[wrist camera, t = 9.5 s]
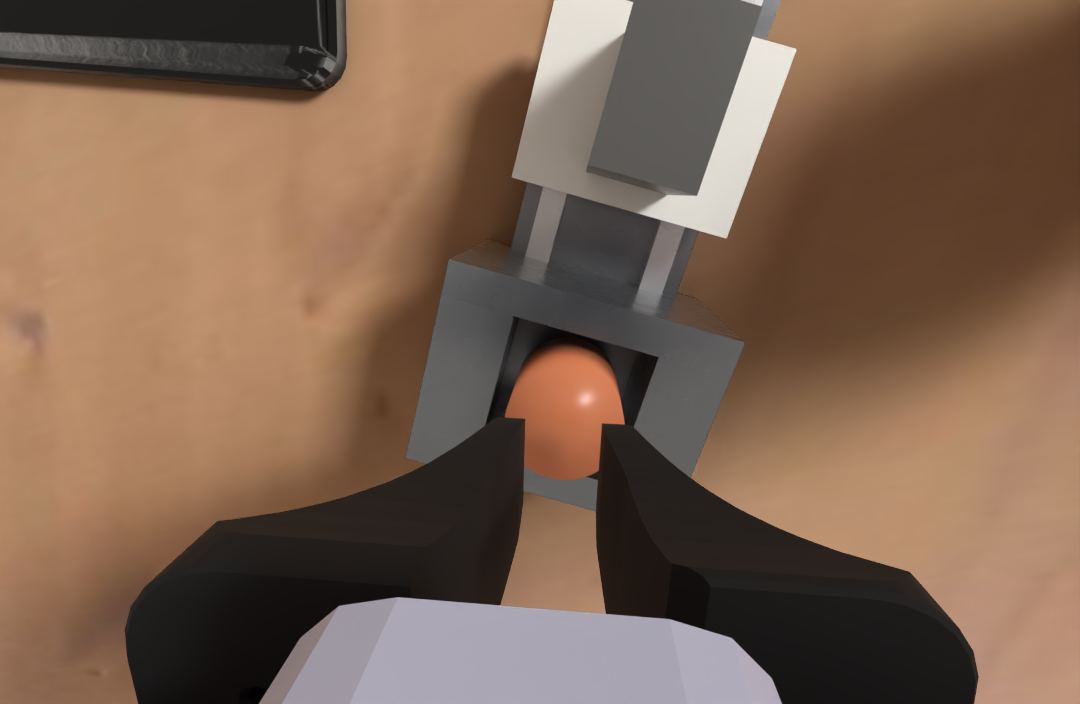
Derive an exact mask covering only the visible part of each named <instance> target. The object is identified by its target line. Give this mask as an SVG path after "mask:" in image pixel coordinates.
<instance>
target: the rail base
mask: <svg viewBox="0 0 1080 704" xmlns="http://www.w3.org/2000/svg"><path fill="white" fill-rule="evenodd" d="M627 1H631V2H634V0H627ZM742 1H745V2H749V3H752V4H756V5H759V6H763V7H762V10H761V13H760V16H759V18H758V21H757V24H756V27H755V30H754V33H753V37H756V38H760V39H763V40H767V37H768V34H769V31H770V28H771V25H772V23H773V20H774V17H775V14H776V11H777V8H778V6H779V3H780V0H742ZM698 232H699V231H698V230H694V229H691V228H687V227H684V226H680V225H677V224H673V223H670V222H666V221H663V220H659V219H656V218H652V217H649V216H645V215H642V214H638V213H634V212H631V211H627V210H624V209H620V208H617V207H613V206H610V205H606V204H603V203H599V202H596V201H592V200H589V199H585V198H582V197H578V196H575V195H571V194H568V193H564V192H561V191H557V190H554V189H550V188H547V187H543V186H539V185H536V184H532V183H529V182H527V185H526V189H525V193H524V197H523V201H522V205H521V209H520V213H519V217H518V221H517V225H516V229H515V233H514V237H513V241H512V245H511V246H509V245H505V244H502V243H498V242H495V241H491V240H488V239H487V240H485V241H484V242H482V243H480V244H478V245H476V246H474V247H472V248H470V249H468V250H466V251H464V252H462V253H460V254H458V255H456V256H454V257H452V258H450V259H449V261H448V266H447V270H446V275H445V280H444V284H443V289H442V293H441V298H440V303H439V307H438V312H437V316H436V321H435V326H434V330H433V335H432V339H431V344H430V349H429V353H428V358H427V362H426V367H425V372H424V376H423V381H422V385H421V390H420V395H419V399H418V404H417V408H416V413H415V418H414V422H413V427H412V431H411V436H410V441H409V445H408V450H407V454H406V458H407V459H410V460H414V461H417V462H421V463H425V464H428V463H429V462H431V461H433V460H434V459H436V458H438V457H439V456H441V455H442V454H444V453H446V452H447V451H449V450H451V449H452V448H454V447H456V446H457V445H459V444H460V443H461V442H463V441H464V440H466V439H467V438H469V437H470V436H471V435H473V434H474V433H476V432H477V431H478V430H480V429H481V428H482V427H484V426H485V425H487V424H488V423H489V422H491V421H492V420H494V419H495V418H497V417H504V418H505V413H506V409H507V406H508V403H509V400H510V397H511V394H512V392H513V389H514V386H515V383H516V380H517V377H518V374H519V371H520V368H521V366H522V364H523V362H524V360H525V358H526V357H527V356H528V354H529V353H530V352H531V351H532V350H533V349H535V348H536V347H537V346H539V345H540V344H542V343H544V342H546V341H549V340H552V339H556V338H562V337H571V338H578V339H582V340H585V341H587V342H589V343H591V344H593V345H595V346H596V347H598V348H599V349H600V350H601V351H602V352H604V354H605V355H606V356H607V357H608V359H609V360H610V362H611V363H612V366H613V368H614V371H615V374H616V379H617V384H618V389H619V394H620V400H621V405H622V410H623V415H624V422H625V425H631V426H633V427H634V428H635V429H636V430H637V431H638V432H639V433H640V434H641V435H642V436H643V437H644V438H645V439H646V440H647V441H648V442H649V443H650V444H651V445H652V446H653V447H654V448H656V449H657V450H658V451H659V452H660V453H661V454H662V455H663V456H664V457H665V458H667V459H668V460H669V461H670V462H671V463H672V464H674V465H675V466H676V467H677V468H678V469H680V470H681V471H682V472H683V473H685V474H686V475H687V476H689V477H690V478H691V475H692V473H693V470H694V468H695V465H696V463H697V460H698V458H699V455H700V453H701V450H702V448H703V445H704V443H705V441H706V438H707V436H708V433H709V431H710V428H711V426H712V423H713V421H714V418H715V416H716V413H717V411H718V408H719V406H720V403H721V401H722V399H723V396H724V394H725V391H726V389H727V386H728V384H729V381H730V379H731V376H732V374H733V371H734V369H735V366H736V364H737V362H738V359H739V357H740V354H741V352H742V349H743V347H744V344H745V342H744V341H743V340H742V339H741V338H739V337H738V336H737V335H736V334H735V333H734V332H733V331H732V330H731V329H730V328H729V327H727V326H726V325H725V324H724V323H723V322H722V321H721V320H720V319H719V318H718V317H716V316H715V315H714V314H713V313H712V312H711V311H710V310H709V309H708V308H707V307H706V306H704V305H703V304H702V303H701V302H700V301H699V300H698V299H696V298H692V297H689V296H685V295H682V294H678V293H677V291H678V288H679V285H680V283H681V280H682V277H683V274H684V271H685V268H686V266H687V263H688V260H689V257H690V254H691V252H692V249H693V246H694V243H695V240H696V237H697V235H698ZM598 472H599V471H597V472H596V473H594V474H592V475H589V476H587V477H583V478H579V479H573V480H558V479H552V478H548V477H545V476H542V475H540V474H537V473H535V472H533V471H532V470H530V469H529V468H527V467H526V466H525V465H524V488H523V491H525V492H528V493H532V494H536V495H539V496H543V497H546V498H550V499H553V500H557V501H561V502H564V503H568V504H571V505H575V506H579V507H582V508H586V509H589V510H593V511H596V500H597V486H598Z"/></svg>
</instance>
